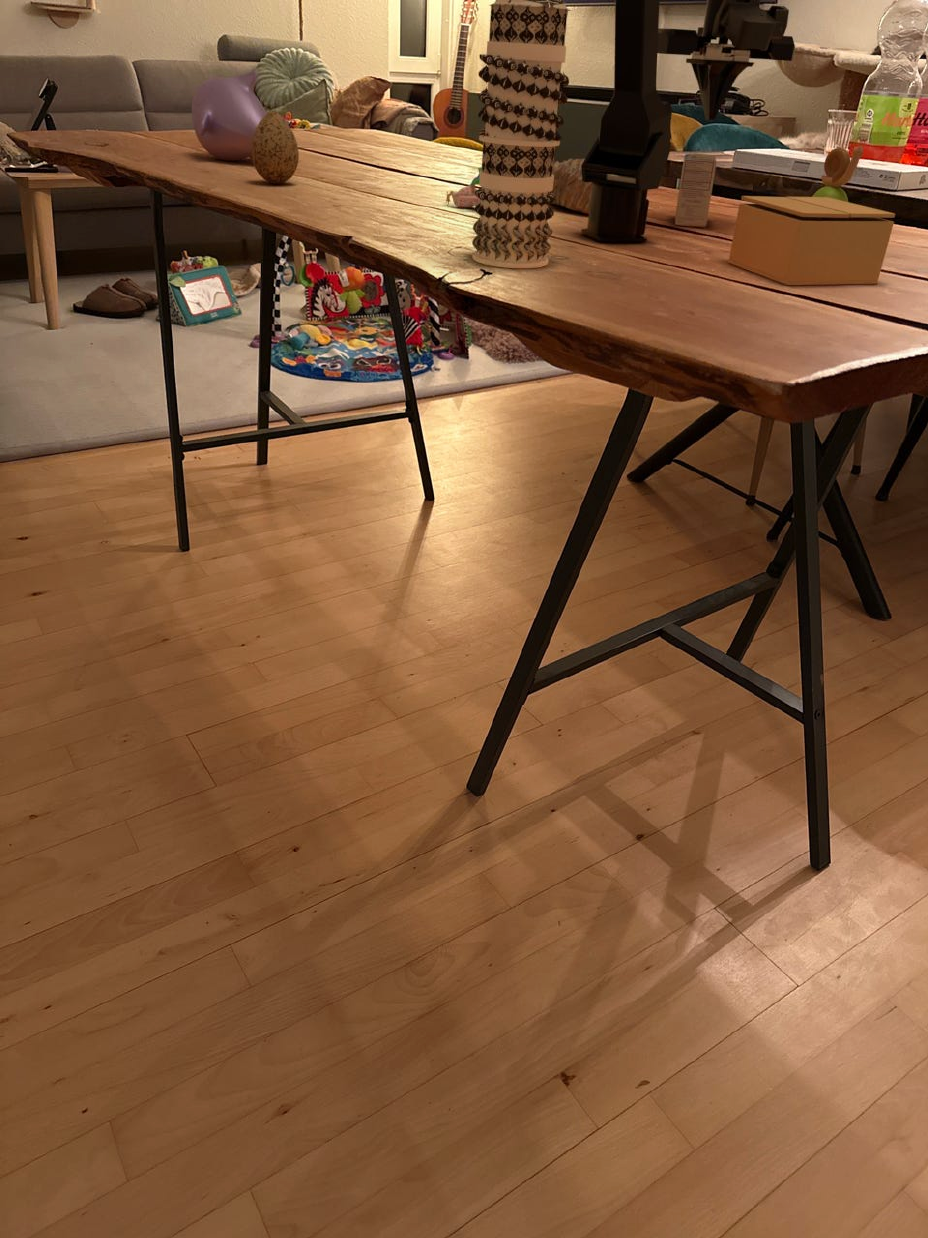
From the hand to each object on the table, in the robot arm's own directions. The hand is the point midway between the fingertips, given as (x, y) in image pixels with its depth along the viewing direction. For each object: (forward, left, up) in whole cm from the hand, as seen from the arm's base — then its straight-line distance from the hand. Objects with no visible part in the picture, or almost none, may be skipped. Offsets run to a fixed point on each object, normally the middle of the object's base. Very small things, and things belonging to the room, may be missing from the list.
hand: (710, 119), depth 127 cm
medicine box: (0, +1, -13) cm, 13 cm away
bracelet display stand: (-37, -24, -13) cm, 46 cm away
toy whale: (-57, +62, -13) cm, 85 cm away
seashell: (-12, +12, -13) cm, 21 cm away
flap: (-8, -32, -6) cm, 34 cm away
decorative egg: (-54, +35, -13) cm, 66 cm away
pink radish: (-28, +9, -13) cm, 32 cm away
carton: (-5, -32, -13) cm, 35 cm away
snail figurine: (+22, -1, -13) cm, 26 cm away
